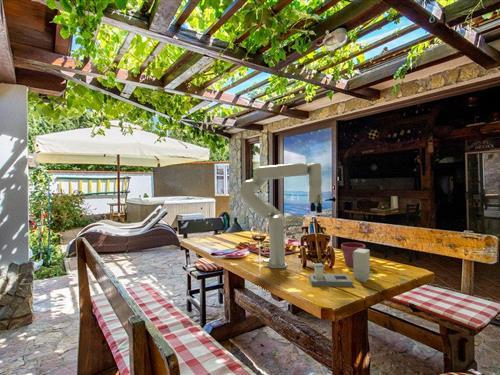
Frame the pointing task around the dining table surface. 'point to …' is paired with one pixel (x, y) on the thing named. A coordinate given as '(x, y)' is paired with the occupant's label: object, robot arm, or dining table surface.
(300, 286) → the dining table surface
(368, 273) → the skincare box
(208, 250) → the dining table surface
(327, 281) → the socket panel
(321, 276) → the plug
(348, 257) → the plant pot
